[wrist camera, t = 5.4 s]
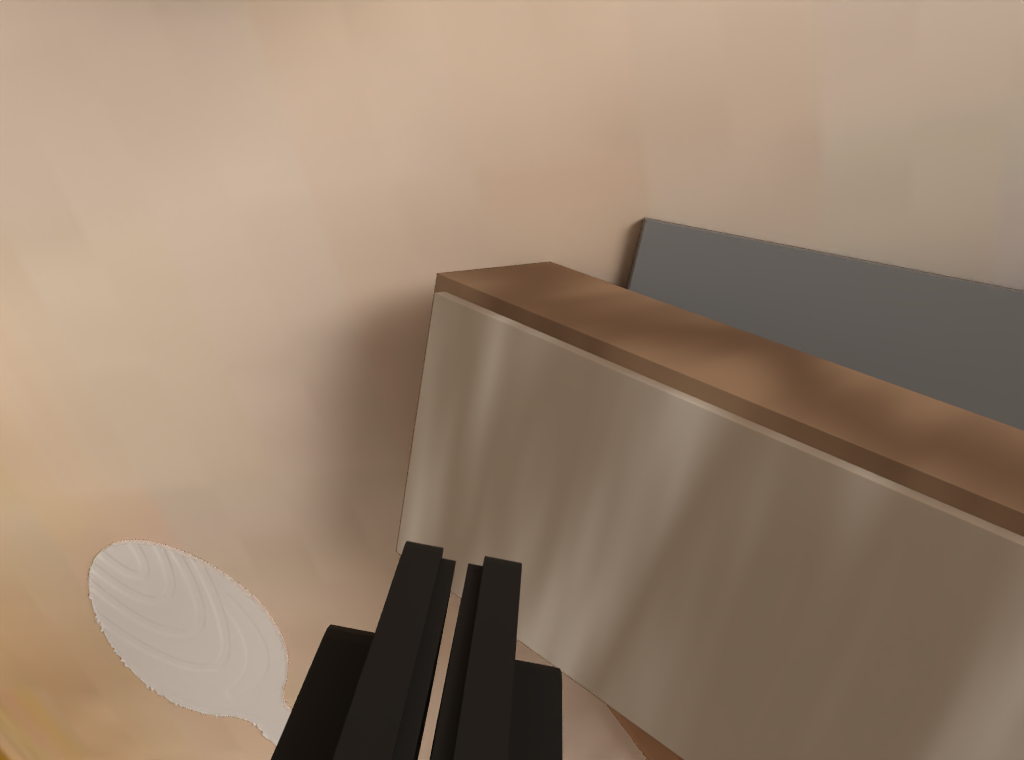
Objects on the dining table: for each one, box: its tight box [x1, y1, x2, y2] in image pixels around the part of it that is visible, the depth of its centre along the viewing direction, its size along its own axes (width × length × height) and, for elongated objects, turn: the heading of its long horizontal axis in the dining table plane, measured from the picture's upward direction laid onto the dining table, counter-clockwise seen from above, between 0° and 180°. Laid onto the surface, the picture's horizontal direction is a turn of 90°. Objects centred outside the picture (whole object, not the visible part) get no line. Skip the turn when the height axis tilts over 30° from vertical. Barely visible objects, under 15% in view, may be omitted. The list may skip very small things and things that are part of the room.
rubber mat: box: [627, 218, 1024, 431], centre depth 20 cm, size 14×10×1 cm
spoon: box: [87, 539, 292, 746], centre depth 25 cm, size 5×18×1 cm, turn 34°
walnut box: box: [396, 262, 1024, 760], centre depth 15 cm, size 4×7×13 cm
